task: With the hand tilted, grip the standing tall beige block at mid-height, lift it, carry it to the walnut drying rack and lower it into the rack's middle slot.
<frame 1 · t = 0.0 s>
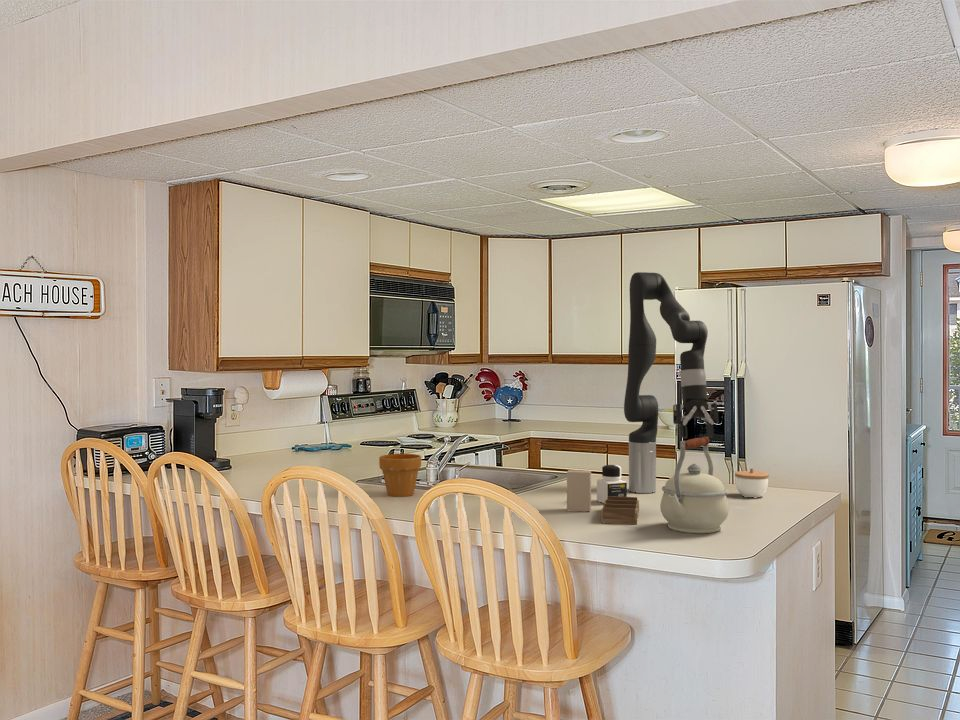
hand: (697, 437, 261), 22 cm above the countertop, tool pointing down, fingers open, 8 cm apart
tall beige block: (578, 510, 262), on the countertop
lidded jar: (751, 497, 286), on the countertop
kettle: (691, 529, 236), on the countertop
medicine bottle: (611, 503, 275), on the countertop
rack: (620, 516, 253), on the countertop
flower pot: (400, 495, 290), on the countertop
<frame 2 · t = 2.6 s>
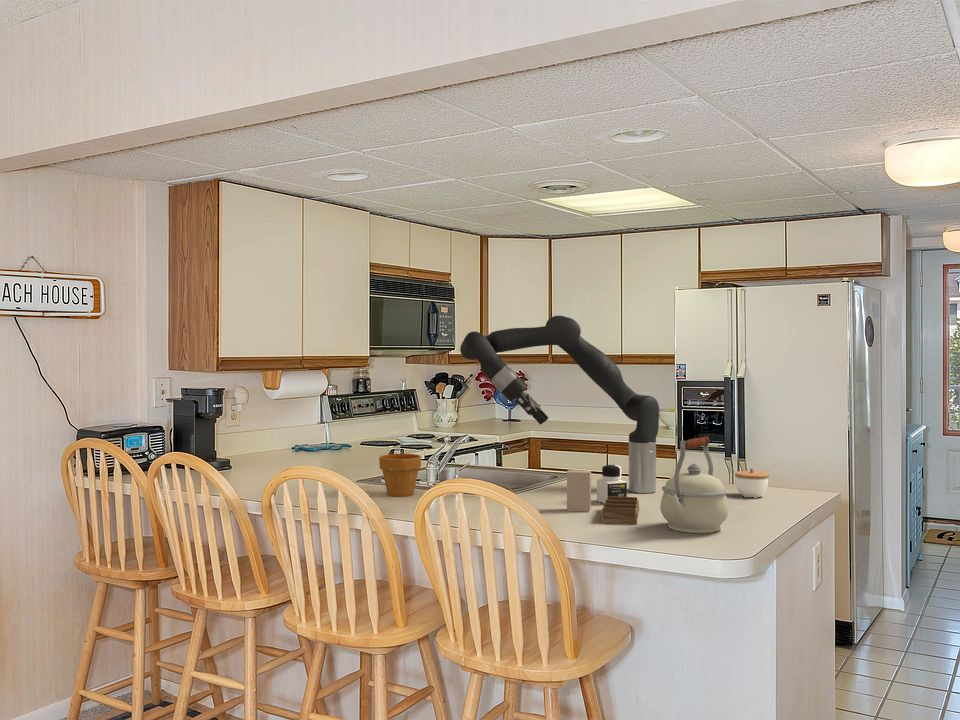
hand: (544, 421, 265), 27 cm above the countertop, tool tilted 45°, fingers open, 8 cm apart
nothing on the countertop moved.
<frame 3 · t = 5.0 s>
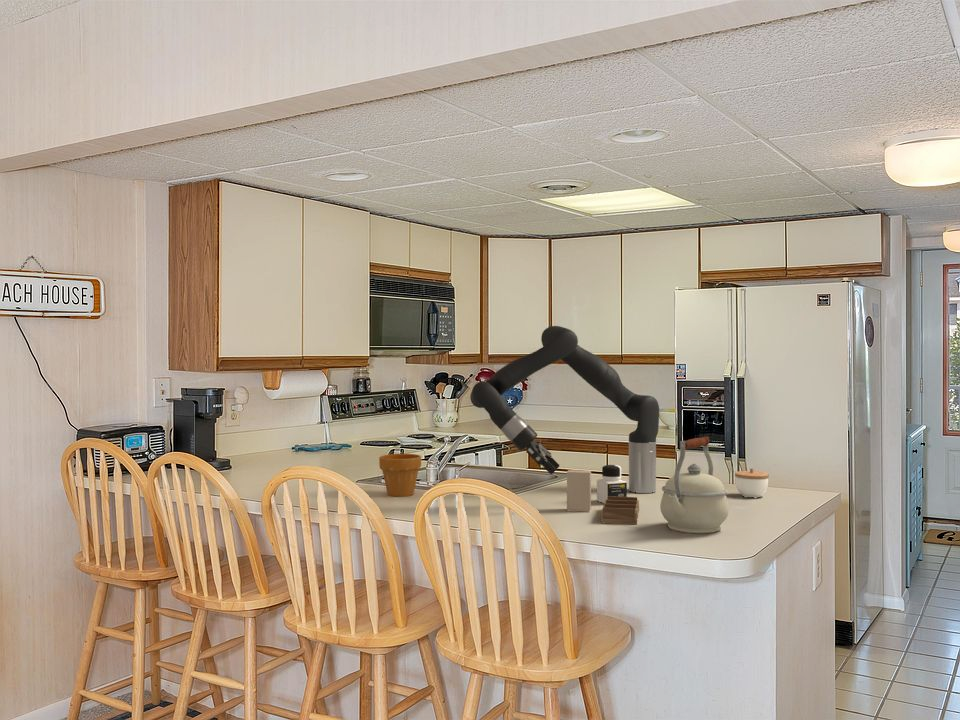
hand: (555, 470, 264), 12 cm above the countertop, tool tilted 45°, fingers open, 8 cm apart
nothing on the countertop moved.
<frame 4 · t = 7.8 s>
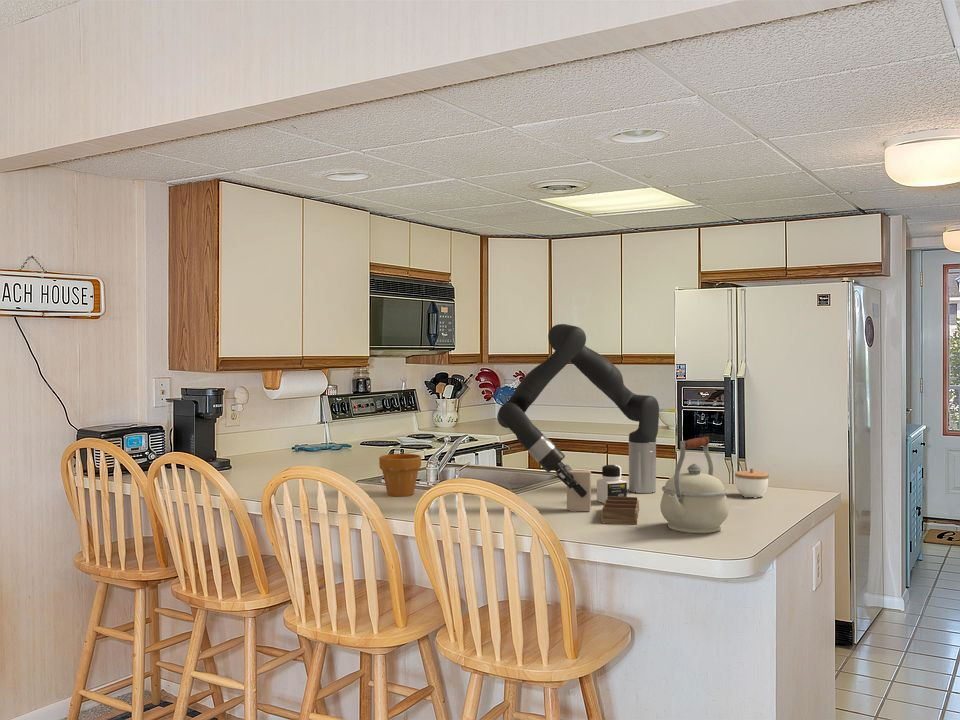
hand: (585, 494, 262), 5 cm above the countertop, tool tilted 45°, fingers closed on tall beige block, 4 cm apart
tall beige block: (578, 510, 262), on the countertop, touching gripper
everything else where it was.
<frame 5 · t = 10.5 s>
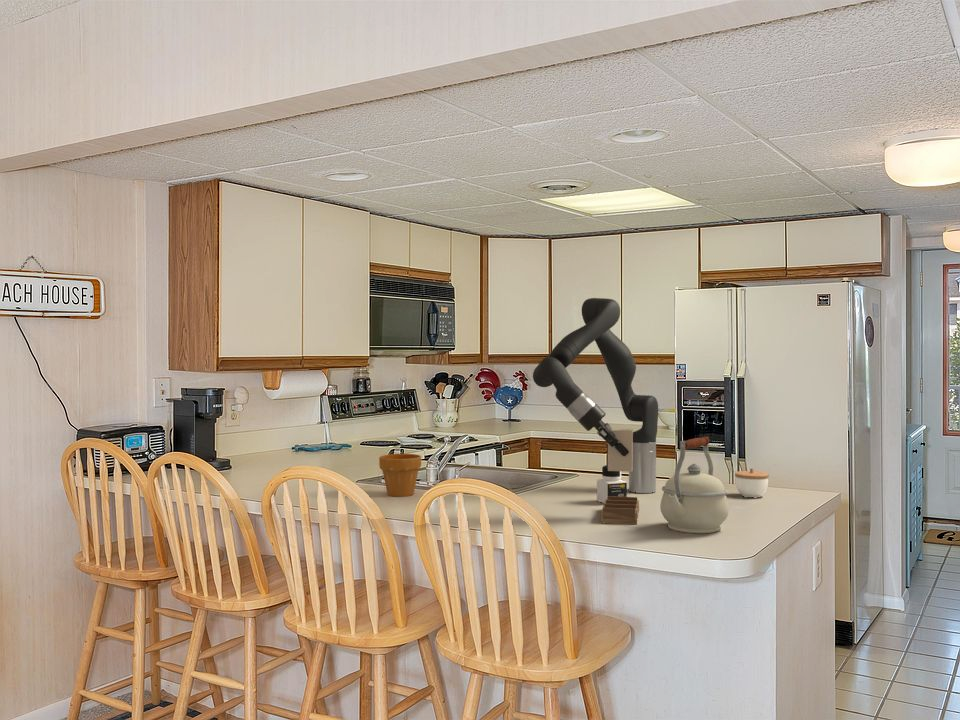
hand: (627, 453, 252), 19 cm above the countertop, tool tilted 45°, fingers closed on tall beige block, 4 cm apart
tall beige block: (620, 470, 252), point 14 cm above the countertop, touching gripper
everything else where it was.
when the fingers open (8 cm above the countertop, at t = 13.3 s): tall beige block drops 2 cm, resting on rack.
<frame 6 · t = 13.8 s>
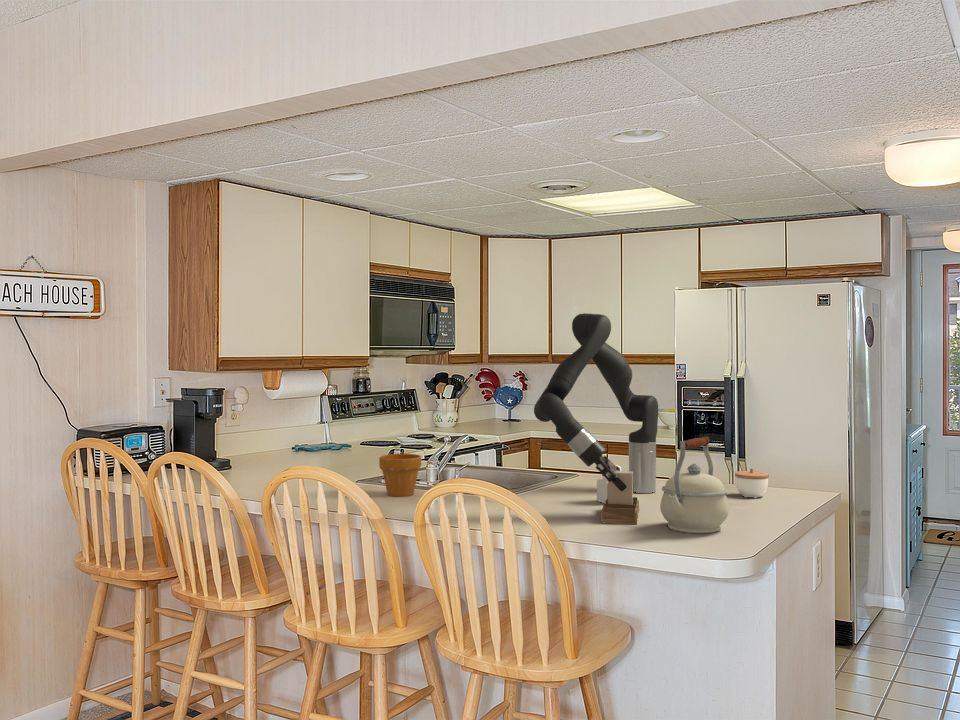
hand: (625, 486, 252), 9 cm above the countertop, tool tilted 45°, fingers open, 8 cm apart
tall beige block: (620, 512, 252), point 1 cm above the countertop, touching rack
everything else where it was.
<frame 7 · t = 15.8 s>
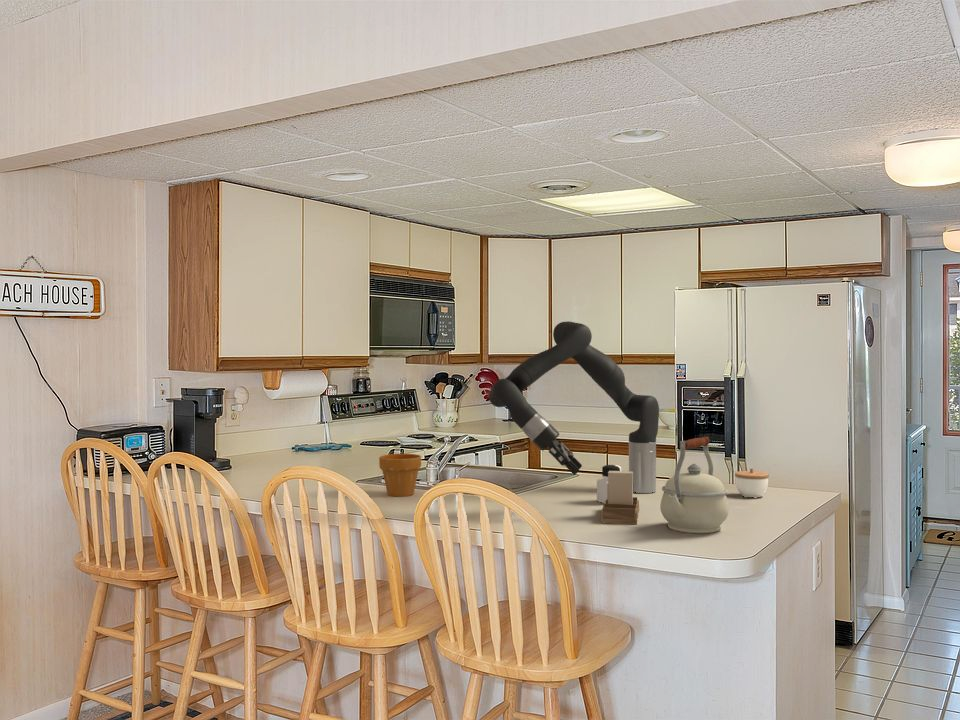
hand: (578, 470, 256), 13 cm above the countertop, tool tilted 45°, fingers open, 8 cm apart
nothing on the countertop moved.
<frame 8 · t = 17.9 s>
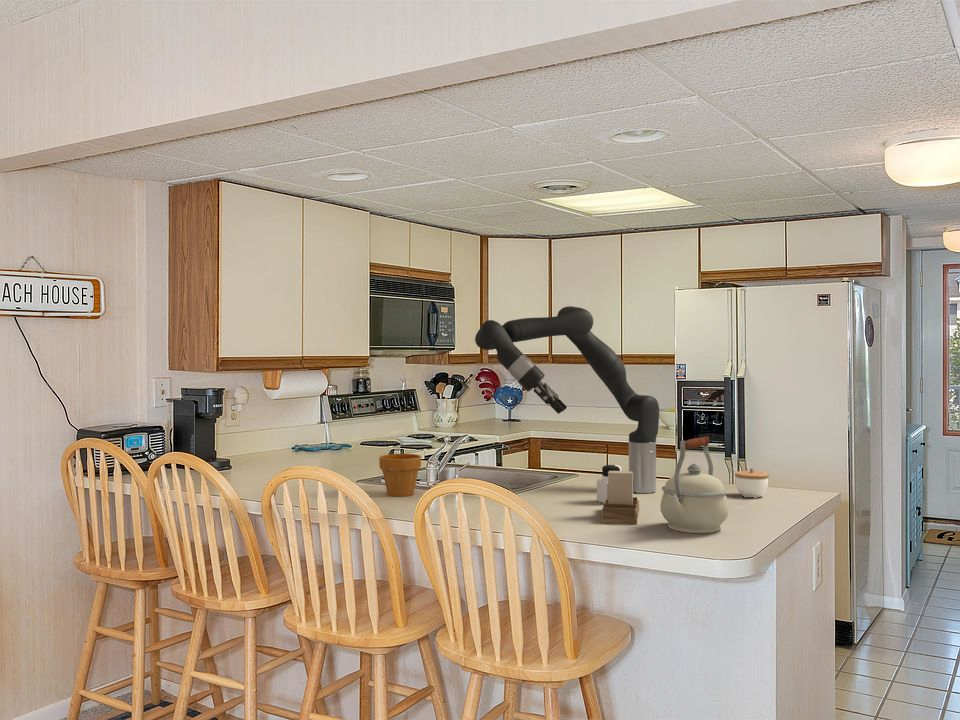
hand: (563, 410, 261), 31 cm above the countertop, tool tilted 45°, fingers open, 8 cm apart
nothing on the countertop moved.
at the end: tall beige block 0.1 cm off-centre on the rack, point 1.2 cm above the rack's base; tall beige block tilted 0°; the gripper is holding nothing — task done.
